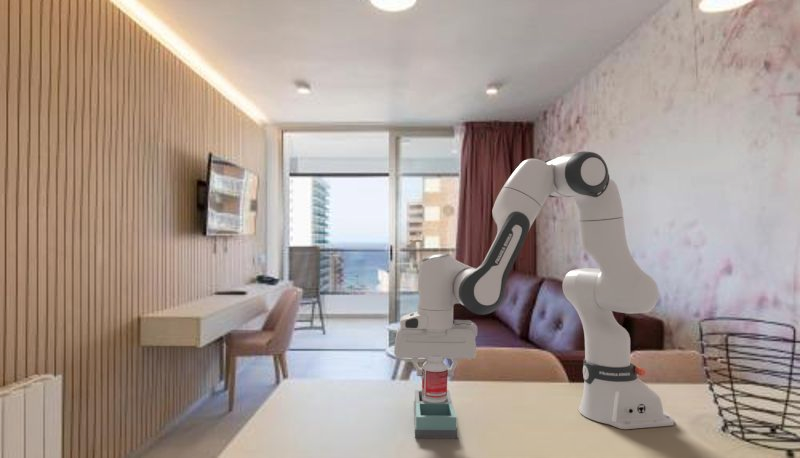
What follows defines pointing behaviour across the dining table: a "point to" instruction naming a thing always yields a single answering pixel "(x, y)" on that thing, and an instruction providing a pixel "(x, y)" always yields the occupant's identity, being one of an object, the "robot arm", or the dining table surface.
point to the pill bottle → (434, 380)
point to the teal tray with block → (434, 418)
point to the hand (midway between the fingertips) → (434, 375)
